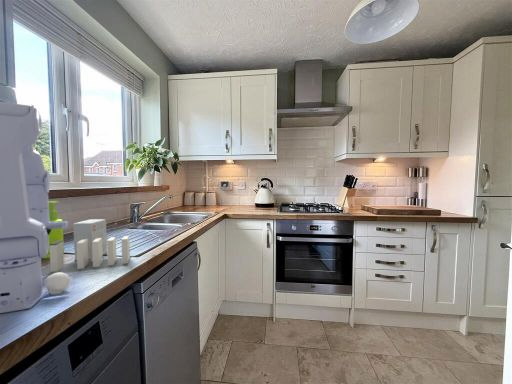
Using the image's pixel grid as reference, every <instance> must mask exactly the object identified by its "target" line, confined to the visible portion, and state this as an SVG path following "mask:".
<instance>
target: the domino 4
mask: <svg viewBox="0 0 512 384" xmlns="http://www.w3.org/2000/svg"><path fill="white" fill-rule="evenodd" d="M106 255H107V259H108V265H114V264H115V262H116V260H117V258H118V257H117V238H116V236H112V237H109V238H108V239H107V253H106Z"/></svg>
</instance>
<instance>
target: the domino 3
mask: <svg viewBox="0 0 512 384" xmlns="http://www.w3.org/2000/svg"><path fill="white" fill-rule="evenodd" d="M92 254H93V260H92V261H93V267H99V266H100V265H101V263H102V262H103V260H104V259H103V258H104V257H103V256H104V254H102V238H96V239H95V240H94V241H93V242H92Z"/></svg>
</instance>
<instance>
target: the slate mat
mask: <svg viewBox="0 0 512 384" xmlns="http://www.w3.org/2000/svg"><path fill="white" fill-rule="evenodd" d="M116 258H117V260H116V262H115V264H114V265H108V258H106V259H103V262H102V263H101V265H100V266H99V267H93V260H88V264H87V265H86V266H85V268H82V269H77V262H69V263H64V266H63V267H62V268H61V269H60V270H59V271H56V272H51V264H50V265H45V266H44V267H42V268H41V269H42V277H43V276H50V275H51V274H54V273H57V272H62V273H65V274H69V273H76V272H77V273H78V272H85V271H94V270H95V271H96V270H101V269H103V270H104V269H108V268H109V269H111V268H119V267H126V266H128V265H129V264H130V260H131V258H132V256H130V260H129V262H128V263H125V264H122V257H116Z"/></svg>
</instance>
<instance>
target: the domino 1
mask: <svg viewBox="0 0 512 384" xmlns="http://www.w3.org/2000/svg"><path fill="white" fill-rule="evenodd" d="M63 243H64V239H63V240H58V241H55V242H53V243H51V244H50V258H49V261H50V265H51V272H56V271H59V270H60V269H61V268H62V267H63V266H64V264H65V263H64V259H65V258H64V255H63Z"/></svg>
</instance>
